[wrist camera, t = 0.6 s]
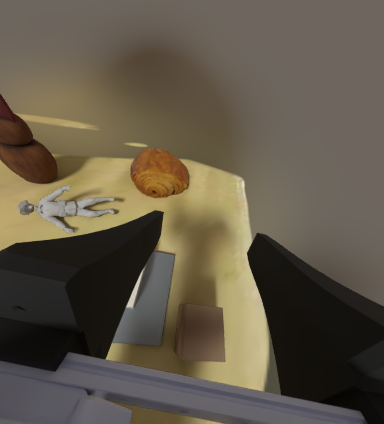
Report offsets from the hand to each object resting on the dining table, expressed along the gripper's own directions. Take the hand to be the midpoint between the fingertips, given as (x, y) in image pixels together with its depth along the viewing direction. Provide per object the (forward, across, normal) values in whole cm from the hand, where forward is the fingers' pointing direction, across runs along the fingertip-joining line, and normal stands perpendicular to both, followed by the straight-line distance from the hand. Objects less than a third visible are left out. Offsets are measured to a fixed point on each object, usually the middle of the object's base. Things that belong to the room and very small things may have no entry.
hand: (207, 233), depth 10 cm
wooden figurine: (+16, +32, +6) cm, 37 cm away
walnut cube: (+2, -3, +18) cm, 19 cm away
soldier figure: (+12, +22, +10) cm, 27 cm away
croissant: (+28, +11, +5) cm, 30 cm away
